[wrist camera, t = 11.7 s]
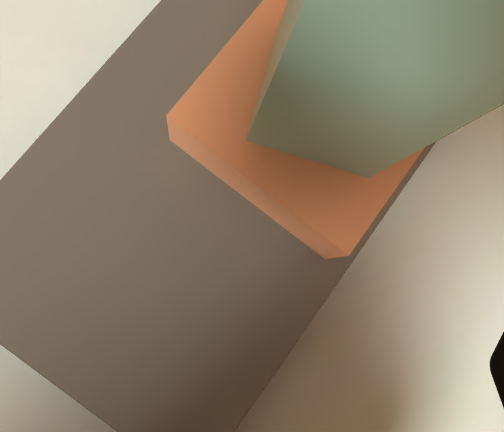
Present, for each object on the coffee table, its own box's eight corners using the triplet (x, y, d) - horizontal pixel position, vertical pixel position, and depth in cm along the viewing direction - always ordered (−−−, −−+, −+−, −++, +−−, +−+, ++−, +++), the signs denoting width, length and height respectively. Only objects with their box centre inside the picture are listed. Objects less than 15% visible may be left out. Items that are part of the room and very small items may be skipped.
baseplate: (193, 477, 19) (195, 530, 15) (-74, 278, 19) (-144, 279, 15) (456, 102, 22) (513, 65, 19) (236, -71, 22) (247, -146, 18)
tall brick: (368, 178, 17) (807, -62, 5) (245, 140, 17) (398, -222, 5) (395, 62, 18) (839, -395, 6) (279, 23, 17) (488, -559, 5)
